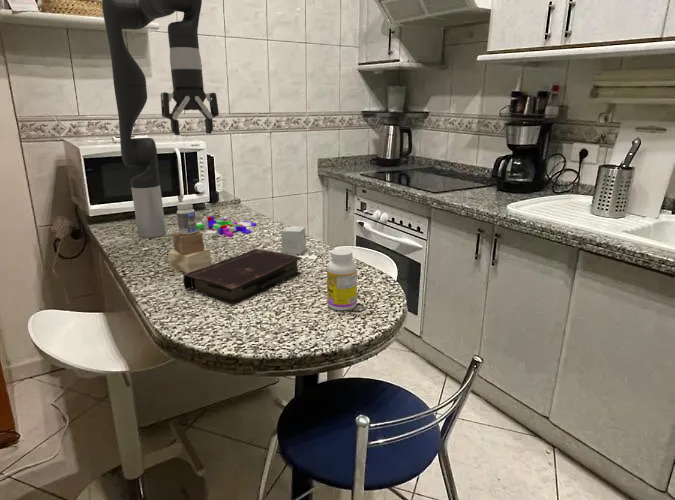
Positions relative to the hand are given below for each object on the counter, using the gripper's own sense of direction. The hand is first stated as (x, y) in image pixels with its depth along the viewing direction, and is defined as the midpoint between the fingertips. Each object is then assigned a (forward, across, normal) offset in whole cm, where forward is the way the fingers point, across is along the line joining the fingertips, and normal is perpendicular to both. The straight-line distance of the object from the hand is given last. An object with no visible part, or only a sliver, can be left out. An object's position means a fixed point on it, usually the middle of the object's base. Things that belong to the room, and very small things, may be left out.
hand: (193, 134), depth 120 cm
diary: (+37, -3, +20) cm, 42 cm away
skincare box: (+36, -26, +6) cm, 45 cm away
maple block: (+36, +4, 0) cm, 37 cm away
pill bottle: (+26, +4, 0) cm, 27 cm away
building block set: (+37, -22, -34) cm, 55 cm away
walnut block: (+31, +4, 0) cm, 32 cm away
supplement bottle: (+36, -13, +47) cm, 61 cm away
